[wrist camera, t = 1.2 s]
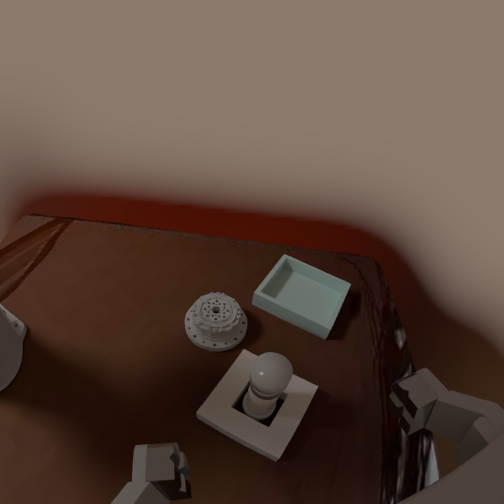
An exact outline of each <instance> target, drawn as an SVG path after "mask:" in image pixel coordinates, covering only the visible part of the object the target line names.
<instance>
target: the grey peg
mask: <svg viewBox="0 0 504 504" xmlns="http://www.w3.org/2000/svg"><path fill="white" fill-rule="evenodd" d="M292 375H293V369H292V365H291V363H290V362H289V361H288V359H287V358H285V357H284V356H282V355H280V354H277V353H264V354H261V355H260V356H258V357H257V358H256V359H255V360H254V362H253V364H252V368H251V372H250V386H249V390H248V392H247V393H246V395H245V396H244V399H243V403H242V410H243V413H244V414H245V415H246V416H248V417H250V418H252V419H254V420H256V421H264V420H266V419H268V418H269V417H270V416H271V415H272V413H273V411H274V410H275V407H276V401H277V399H278V397H279V395H280V394H281V392H283V391H284V390H285V389H286V387H287V386H288V384H289V382H290V380H291V378H292Z"/></svg>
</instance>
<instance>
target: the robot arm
mask: <svg viewBox="0 0 504 504" xmlns="http://www.w3.org/2000/svg"><path fill="white" fill-rule="evenodd" d="M26 331H27V328H26V326H25V325H24V324H23V323H22V322H21V321H20V320H19V319H17V318H16V317H15V316H14V315H13V314H11V313H10V312H9V311H8V310H7V309H5V308H4V307H3V306H2V305H1V304H0V391H1V390H3V389H4V388H5V387H7V386H8V385H9V384H10V383H11V382H12V380H13V379H14V377H15V376H16V374H17V372H18V370H19V368H20V365H21V361H22V354H23V346H22V345H23V340H24V337H25V335H26ZM391 390H392V391H393V392H392V393H391V395H390V396H389V400H388V404H389V409H390V411H391V413H392V414H393V416H394V417H396V418H399V419H400V426H401V427H402V429H403V430H404V432H405V433H406V434H407V435H409V434H411V433H413V432H415V431H417V430H419V429H421V428H423V427H425V428H426V429H428V430H430V431H432V432H434V433H436V434H438V435H441V436H443V437H445V438H447V439H449V440H451V441H454V442H456V443H458V444H460V445H459V446H458V448H457V449H456V451H455V452H454V455H453V456H454V458H455V459H456V460H457V462H458V463H459V465H460V466H459V467H457V468H456V469H455V470H453V471H452V472H450V473H449V474H447V475H446V476H444V477H442V478H441V479H439V480H438V481H436V482H434V483H433V484H431V485H429V486H428V487H426V488H424V489H423V490H421V491H419V492H417V493H416V494H414V495H412V496H410V497H408V498H406V499H404V500H403V501H401V502H399V503H397V504H504V411H503V409H502V408H501V407H500V406H499V405H498V404H497V403H493V402H490V401H486V400H483V399H479V398H476V397H472V396H469V395H465V394H462V393H458V392H455V391H450V392H449V391H448V390H447V389H446V388H445V387H444V386H443V385H442V384H441V383H440V382H439V380H438V379H437V378H436V377H435V376H434V375H433V374H432V373H431V372H430V371H429V370H428V369H426V368H423V369H421V370H419V371H417V372H415V373H412V374H410V375H408V376H406V377H404V378H402V379H400V380H398V381H396V382H394V383H393V384H392V387H391ZM188 476H189V466H188V462H187V459H186V457H185V455H184V453H183V452H180V451H179V446H178V444H177V443H176V442H172V443H162V444H146V445H136V446H135V448H134V456H133V470H132V482H128V483H127V484H126V486H125V487H124V488H123V489H122V491H121V492H120V493H119V494H118V496H117V497H116V498H115V499H114V500H113V502H112V503H111V504H169V503H170V500H181V499H191V498H192V497H191V485H190V483H189V482H188V480H187V479H186V478H187V477H188Z"/></svg>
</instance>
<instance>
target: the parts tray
mask: <svg viewBox="0 0 504 504" xmlns="http://www.w3.org/2000/svg"><path fill="white" fill-rule="evenodd" d="M350 285H351V284H350V283H347V282H345V281H343V280H341V279H339V278H336V277H334V276H332V275H330V274H328V273H325V272H323V271H321V270H319V269H317V268H314V267H312V266H310V265H308V264H305V263H303V262H301V261H299V260H296V259H294V258H292V257H290V256H287V255H285V254H284V255H283V256H282V258H281V259H280V260H279V262H278V263H277V264H276V265H275V267H274V268H273V269H272V270H271V272H270V273H269V274H268V276H267V277H266V278H265V279H264V281H263V282H262V283H261V284H260V286H259V287H258V288H257V290H256V291H255V292H254V296H253V301H252V304H253V305H255V306H257V307H259V308H261V309H263V310H265V311H267V312H269V313H271V314H273V315H275V316H277V317H279V318H281V319H283V320H285V321H287V322H289V323H291V324H293V325H295V326H297V327H299V328H301V329H303V330H305V331H308V332H310V333H312V334H314V335H316V336H318V337H320V338H322V339H324V340H326V338H327V336H328V334H329V332H330V330H331V328H332V326H333V324H334V322H335V319H336V317H337V315H338V313H339V310H340V308H341V306H342V304H343V301H344V299H345V297H346V294H347V292H348V290H349V287H350Z"/></svg>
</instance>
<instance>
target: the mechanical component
mask: <svg viewBox="0 0 504 504" xmlns="http://www.w3.org/2000/svg"><path fill="white" fill-rule="evenodd" d="M185 329H186V332H187V335H188V337H189V338H190V340H191V341H192V342H193V343H194V344H195V345H197V346H198V347H200V348H202V349H205V350H208V351H226V350H229V349H231V348H234V347H235V346H236V345H238V344H239V343H240V342H241V341H242V339H243V338H244V337H245V334H246V330H247V318H246V315H245V313H244V311H243V310H242V309H241V308H240V306H239V305H238V304H237V302H236V301H235V299H234V298H231V297H229V296H227V295H225V294H224V293H222V294H219V293H218V292H217V293H212V292H211V293H210V294H207V295H205V296H200V298H199V299H198V300H197V301H196V302H195V303H194V304H193V306H192V307H191V308H190V309H189V310H188V312H187V314H186V317H185Z"/></svg>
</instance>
